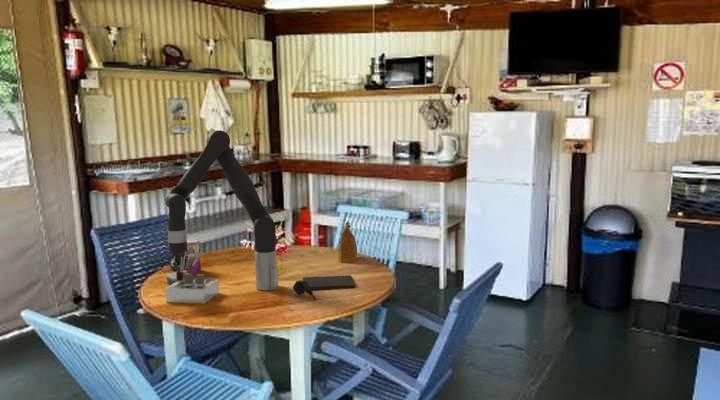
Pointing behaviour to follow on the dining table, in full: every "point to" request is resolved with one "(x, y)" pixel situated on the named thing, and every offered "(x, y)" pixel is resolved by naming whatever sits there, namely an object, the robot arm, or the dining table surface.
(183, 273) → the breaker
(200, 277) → the breaker left
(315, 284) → the hardcover book
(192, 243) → the candy bar box
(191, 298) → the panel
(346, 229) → the coffee package
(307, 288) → the power plug
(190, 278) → the breaker mid
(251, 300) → the dining table surface
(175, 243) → the robot arm
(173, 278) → the electrical switch
